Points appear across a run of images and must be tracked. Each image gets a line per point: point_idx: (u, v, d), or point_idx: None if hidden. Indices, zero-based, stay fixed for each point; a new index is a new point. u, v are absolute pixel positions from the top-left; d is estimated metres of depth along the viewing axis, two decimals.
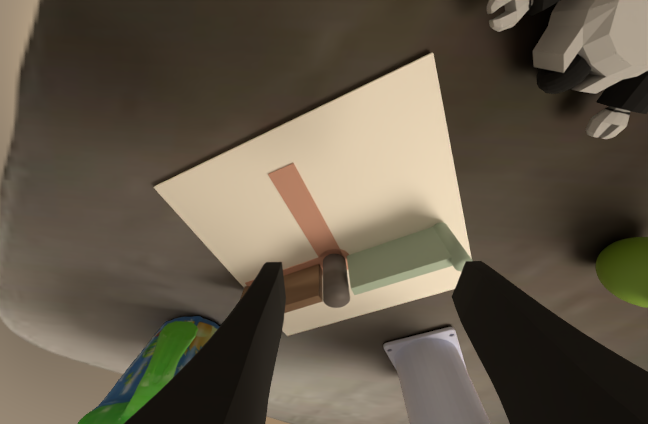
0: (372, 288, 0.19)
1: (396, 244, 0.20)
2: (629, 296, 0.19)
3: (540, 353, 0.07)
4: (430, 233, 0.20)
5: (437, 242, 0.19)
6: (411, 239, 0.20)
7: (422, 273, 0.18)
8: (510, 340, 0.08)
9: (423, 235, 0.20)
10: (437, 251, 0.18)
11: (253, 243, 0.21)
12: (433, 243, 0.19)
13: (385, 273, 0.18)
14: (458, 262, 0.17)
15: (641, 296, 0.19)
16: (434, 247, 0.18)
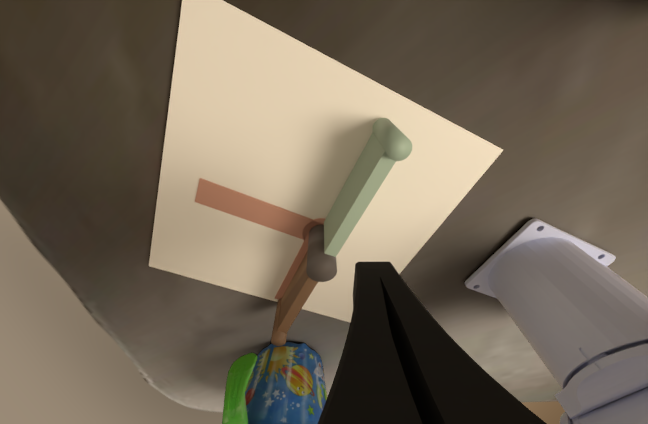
0: (344, 240, 0.16)
1: (350, 178, 0.17)
2: None
3: (405, 354, 0.07)
4: (371, 141, 0.15)
5: (375, 145, 0.14)
6: (359, 162, 0.16)
7: (374, 191, 0.14)
8: (393, 341, 0.08)
9: (366, 149, 0.16)
10: (375, 155, 0.14)
11: (245, 261, 0.21)
12: (372, 150, 0.14)
13: (343, 217, 0.15)
14: (390, 151, 0.12)
15: None
16: (373, 153, 0.14)
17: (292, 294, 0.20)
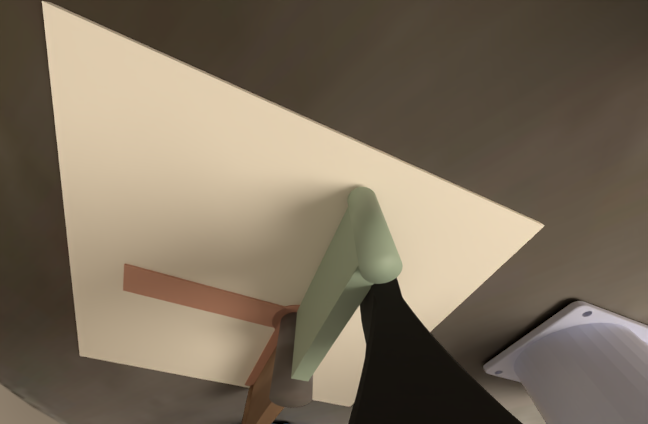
0: (316, 364, 0.11)
1: (323, 266, 0.12)
2: None
3: None
4: (346, 221, 0.10)
5: (349, 237, 0.09)
6: (332, 247, 0.11)
7: (350, 311, 0.09)
8: None
9: (340, 231, 0.11)
10: (348, 258, 0.09)
11: (202, 350, 0.17)
12: (346, 242, 0.10)
13: (311, 336, 0.10)
14: (366, 272, 0.07)
15: None
16: (346, 251, 0.09)
17: (260, 399, 0.15)
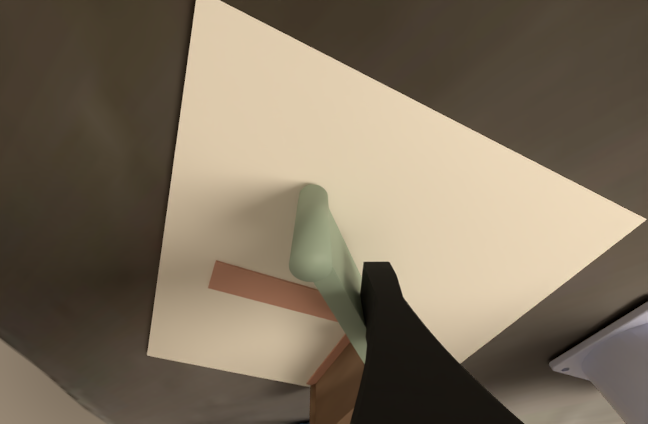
0: None
1: None
2: None
3: None
4: None
5: None
6: None
7: (349, 306, 0.09)
8: None
9: None
10: None
11: (272, 349, 0.17)
12: None
13: None
14: (304, 276, 0.07)
15: None
16: None
17: (337, 398, 0.15)
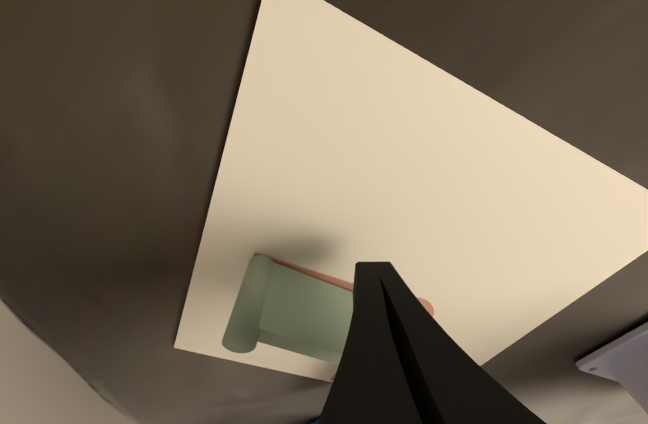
0: None
1: None
2: None
3: (405, 354, 0.07)
4: None
5: None
6: None
7: (308, 346, 0.10)
8: (393, 341, 0.08)
9: None
10: None
11: None
12: None
13: None
14: (243, 350, 0.09)
15: None
16: None
17: None
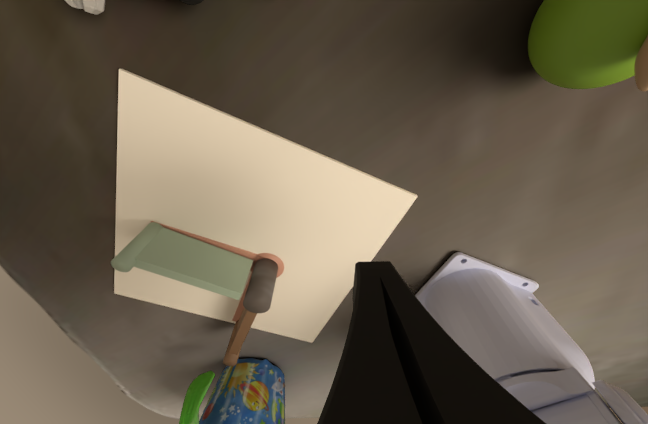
0: (222, 288, 0.18)
1: None
2: (590, 79, 0.11)
3: (405, 354, 0.07)
4: None
5: None
6: None
7: (168, 271, 0.17)
8: (393, 341, 0.08)
9: None
10: None
11: (201, 289, 0.24)
12: None
13: None
14: (125, 270, 0.16)
15: (599, 68, 0.11)
16: None
17: (241, 320, 0.22)
